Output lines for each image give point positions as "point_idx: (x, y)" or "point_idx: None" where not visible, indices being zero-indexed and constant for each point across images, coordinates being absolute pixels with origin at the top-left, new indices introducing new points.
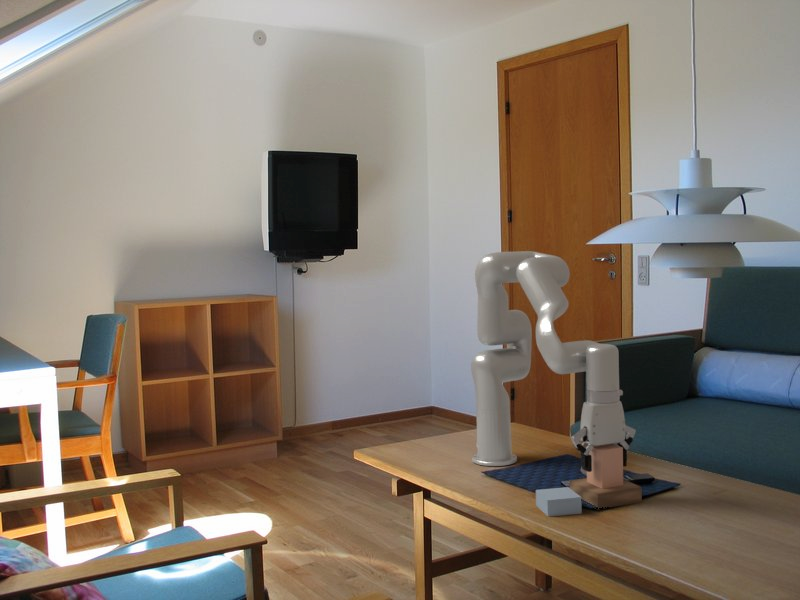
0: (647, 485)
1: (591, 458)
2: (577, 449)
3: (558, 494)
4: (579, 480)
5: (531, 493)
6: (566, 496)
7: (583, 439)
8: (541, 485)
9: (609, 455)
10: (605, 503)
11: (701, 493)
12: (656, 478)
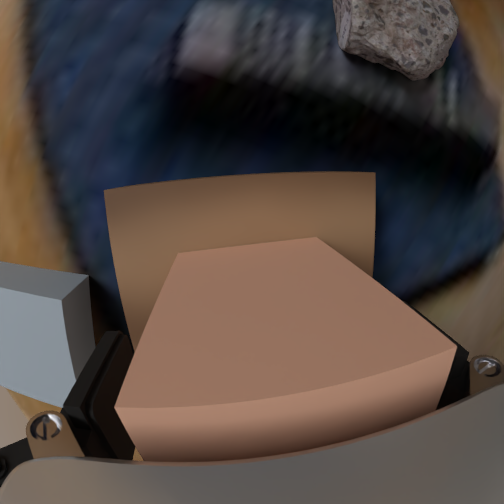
0: (455, 206)
1: (132, 457)
2: (14, 453)
3: (19, 360)
4: (154, 207)
5: (18, 125)
6: (41, 387)
7: (45, 474)
8: (94, 35)
9: None
10: None
11: (487, 323)
12: (498, 160)
